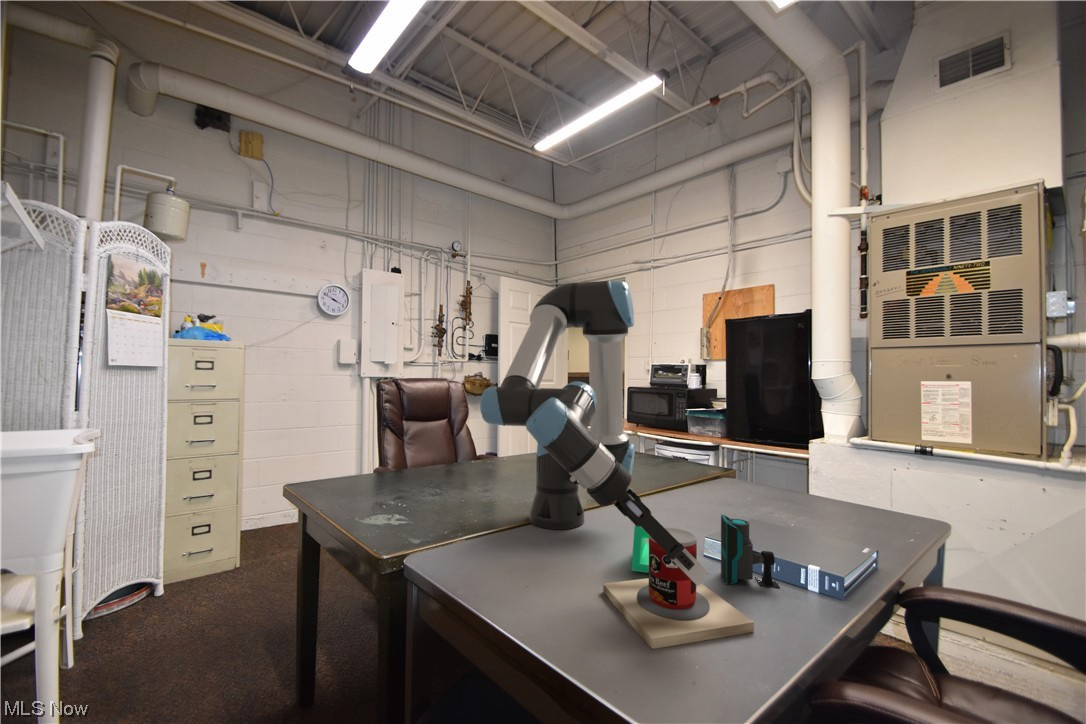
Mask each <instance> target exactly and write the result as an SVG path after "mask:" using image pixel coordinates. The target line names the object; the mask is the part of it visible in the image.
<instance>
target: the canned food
mask: <svg viewBox="0 0 1086 724" xmlns="http://www.w3.org/2000/svg"><path fill="white" fill-rule="evenodd" d="M664 528H665V529H666V530H667V531H668V532H669V533H670V534H671V535H672V536H673V537H674V538H675V539H676V540H677V541H678V542H679V543H680V544H682V545H683V547H684V548H685V549H686V550H687V551H688V552H689V553H690V554H691V555H692V556H693V557H694V558H695V559H696V560H697V558H698V557H697V554H698V553H697V552H698V551H697V550H698V547H697V546H698V545H697V536H696V535H695V534H694V533H692V532H690V531H687V530H684V529H679V528H673V527H664ZM648 543H649V573H648V578H649V595H650V598H651V600H652V601H653V602H654V603H656V604H657V605H659V606H661V607H664V608H668V609H675V610H682V609H688V608H690V607H692V606H693V605H694V604H695V601H696V584H695V583H694V582H693V581H692V580H691V579H690V578H689V577H688V576H687V575H686V574H685V573H684V572H683V571H682V570H681V569H680V568H679V567H678V565H677V564H676V563H675V562H674V561H673V560H672V559H671V560H670V561H669V562H668V561H667V560H666V559H665V558H666V557H667V556H668V555H667V553H666V552H665V551H664V550H663V549H662V548H661V547H660V546H659V545H658V543H657V542H656V541H655V540H654V539H653V538H652V537H651V536H650V535H649V539H648ZM697 561H698V560H697Z"/></svg>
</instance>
